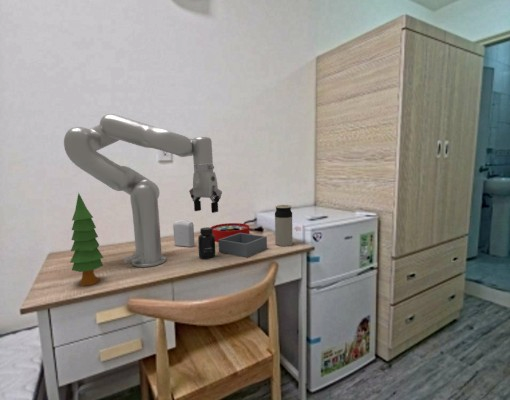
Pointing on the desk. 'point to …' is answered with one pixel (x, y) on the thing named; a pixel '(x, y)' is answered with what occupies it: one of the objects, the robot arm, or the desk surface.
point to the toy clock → (229, 230)
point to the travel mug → (283, 225)
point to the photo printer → (184, 233)
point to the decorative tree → (85, 244)
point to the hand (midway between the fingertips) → (206, 211)
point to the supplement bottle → (206, 243)
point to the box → (242, 244)
